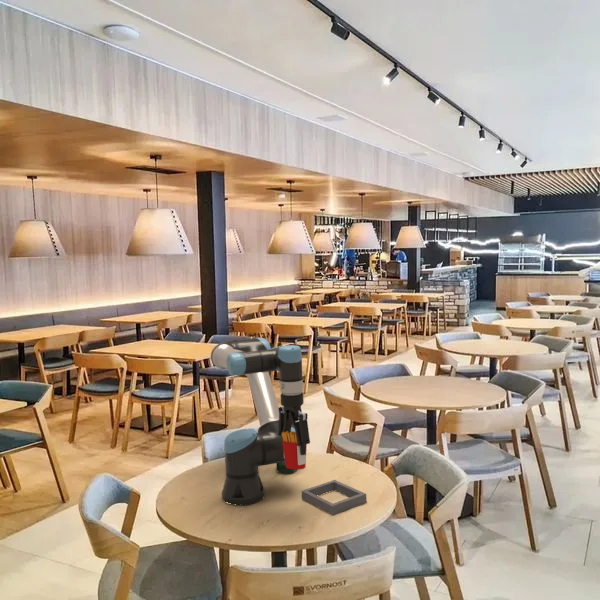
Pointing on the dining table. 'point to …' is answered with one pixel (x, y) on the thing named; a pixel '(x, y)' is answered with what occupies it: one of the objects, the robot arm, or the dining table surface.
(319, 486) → the gray square frame
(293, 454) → the french fries
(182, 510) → the dining table surface
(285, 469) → the coffee jar
